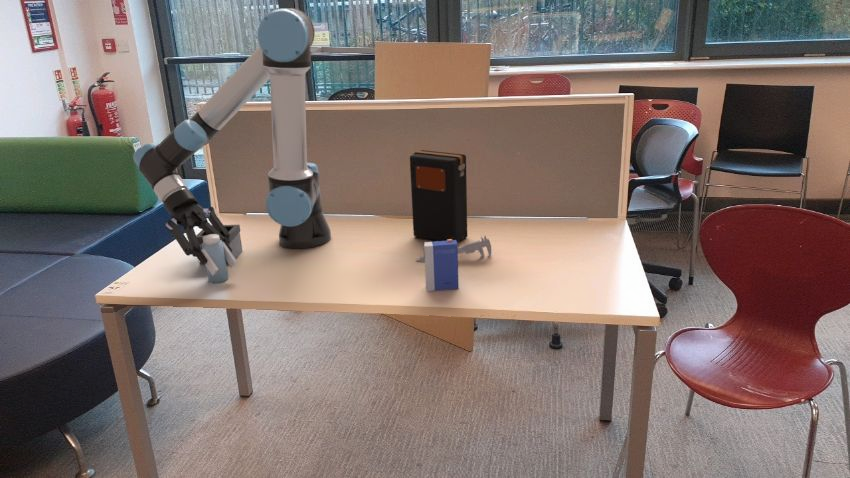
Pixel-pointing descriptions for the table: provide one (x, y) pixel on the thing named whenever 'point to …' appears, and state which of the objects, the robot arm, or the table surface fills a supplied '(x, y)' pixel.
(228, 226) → the square planter pot
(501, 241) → the table surface
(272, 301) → the table surface
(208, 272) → the white-capped blue bottle
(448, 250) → the walkman
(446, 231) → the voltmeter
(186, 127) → the robot arm
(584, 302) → the table surface
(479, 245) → the caliper
